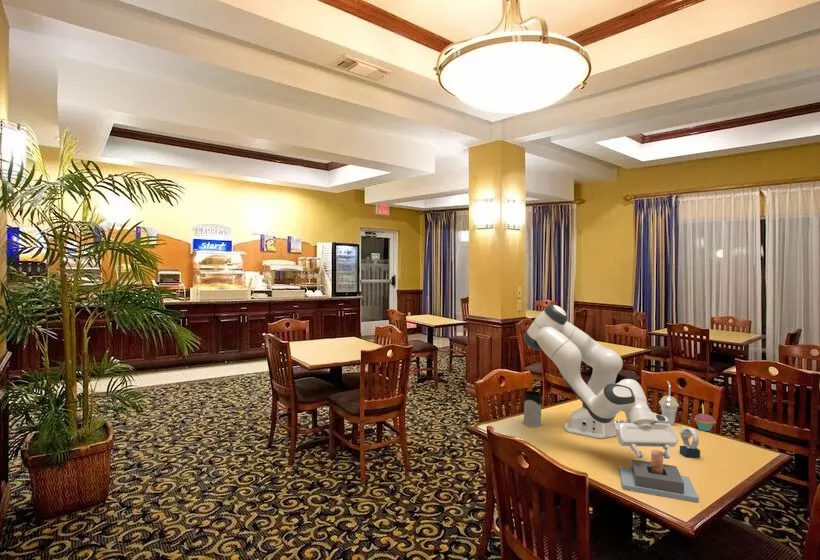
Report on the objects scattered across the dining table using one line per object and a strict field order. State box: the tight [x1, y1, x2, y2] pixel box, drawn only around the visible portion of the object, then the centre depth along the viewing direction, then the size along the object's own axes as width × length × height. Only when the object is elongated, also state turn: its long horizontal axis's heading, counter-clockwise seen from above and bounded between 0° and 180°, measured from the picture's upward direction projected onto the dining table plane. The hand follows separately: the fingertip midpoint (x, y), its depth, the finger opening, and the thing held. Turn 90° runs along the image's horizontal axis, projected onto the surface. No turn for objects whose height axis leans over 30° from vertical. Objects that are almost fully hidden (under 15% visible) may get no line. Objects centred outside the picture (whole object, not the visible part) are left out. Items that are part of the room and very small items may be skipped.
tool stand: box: [619, 459, 700, 503], centre depth 156 cm, size 22×16×5 cm
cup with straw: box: [658, 380, 680, 427], centre depth 219 cm, size 8×9×20 cm
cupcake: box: [693, 402, 717, 432], centre depth 212 cm, size 9×8×12 cm
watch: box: [679, 427, 701, 459], centre depth 182 cm, size 6×8×11 cm
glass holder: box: [522, 390, 543, 429], centre depth 217 cm, size 9×14×15 cm, turn 148°
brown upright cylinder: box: [650, 449, 664, 475], centre depth 156 cm, size 4×4×10 cm
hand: (653, 457), depth 159 cm, fingers open, 8 cm apart
